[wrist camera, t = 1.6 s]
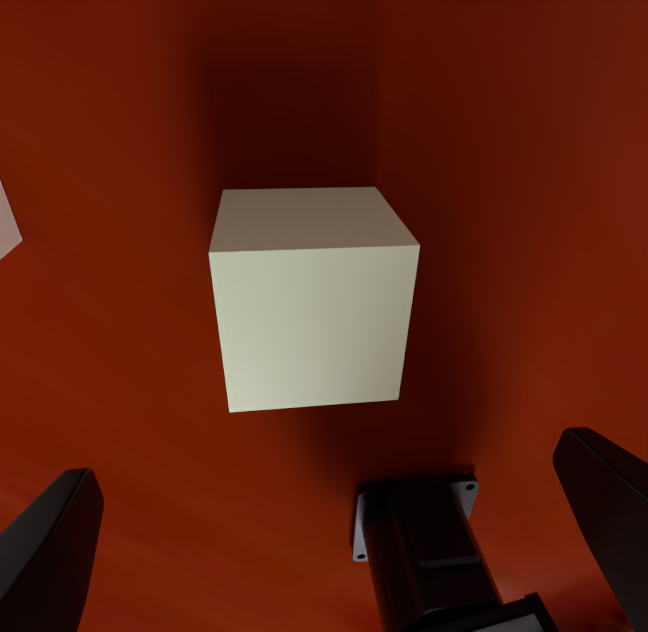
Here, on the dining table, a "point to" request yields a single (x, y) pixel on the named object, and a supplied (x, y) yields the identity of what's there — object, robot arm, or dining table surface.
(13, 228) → the tray
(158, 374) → the dining table surface
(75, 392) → the dining table surface
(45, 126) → the dining table surface
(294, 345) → the cube
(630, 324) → the dining table surface
